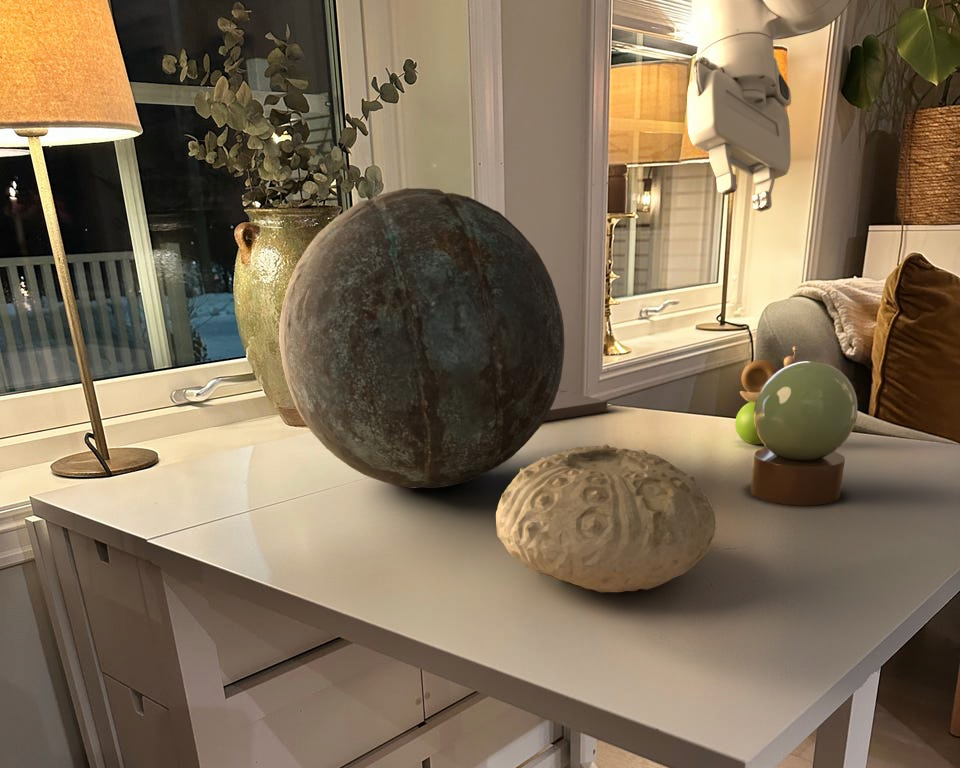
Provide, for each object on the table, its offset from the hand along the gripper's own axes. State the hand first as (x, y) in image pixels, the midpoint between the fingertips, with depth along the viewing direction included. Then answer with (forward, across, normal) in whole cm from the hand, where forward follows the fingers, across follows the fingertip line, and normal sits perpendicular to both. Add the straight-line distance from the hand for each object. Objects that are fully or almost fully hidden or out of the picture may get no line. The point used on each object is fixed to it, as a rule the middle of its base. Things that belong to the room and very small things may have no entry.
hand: (745, 201), depth 110 cm
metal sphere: (+30, -34, +25) cm, 52 cm away
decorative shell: (+42, -45, -5) cm, 61 cm away
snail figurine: (+28, +4, +2) cm, 29 cm away
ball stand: (+36, -13, -9) cm, 39 cm away
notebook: (+18, +1, +37) cm, 42 cm away
